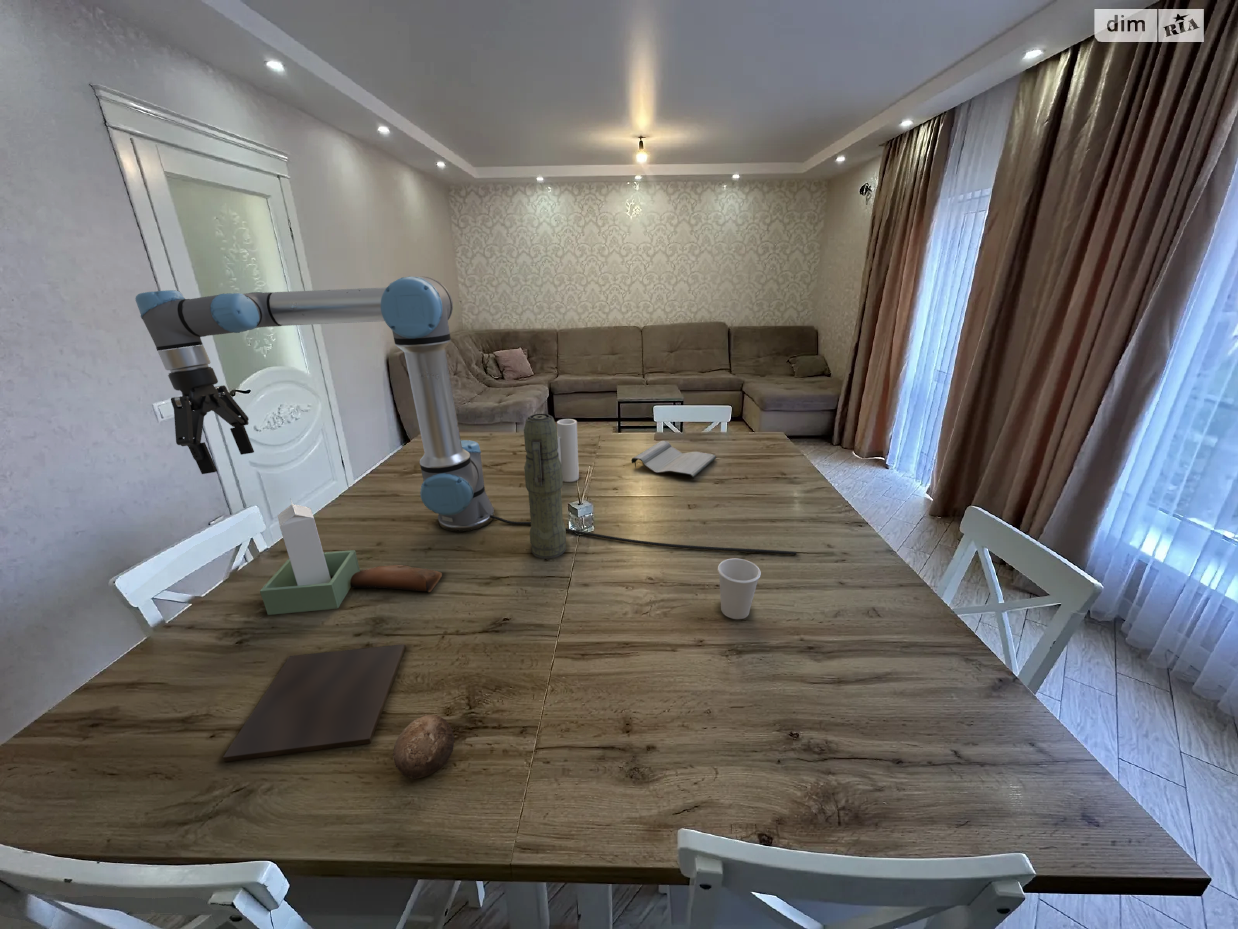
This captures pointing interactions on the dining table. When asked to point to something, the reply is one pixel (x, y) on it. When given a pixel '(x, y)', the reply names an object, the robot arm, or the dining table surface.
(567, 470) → the vase
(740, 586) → the dixie cup
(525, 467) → the thermos
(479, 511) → the robot arm
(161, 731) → the dining table surface
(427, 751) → the brown potato
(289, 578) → the basket
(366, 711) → the board
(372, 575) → the sunglasses case
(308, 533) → the milk
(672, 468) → the mat
